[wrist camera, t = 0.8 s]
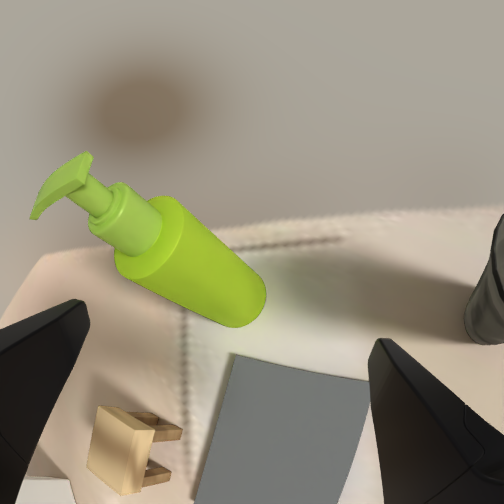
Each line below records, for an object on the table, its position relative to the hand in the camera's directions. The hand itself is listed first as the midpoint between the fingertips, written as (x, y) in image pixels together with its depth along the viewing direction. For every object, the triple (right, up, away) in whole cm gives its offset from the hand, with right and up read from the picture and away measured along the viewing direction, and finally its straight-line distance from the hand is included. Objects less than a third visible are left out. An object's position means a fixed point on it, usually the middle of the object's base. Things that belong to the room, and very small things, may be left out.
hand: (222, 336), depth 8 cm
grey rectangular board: (+3, -15, +12) cm, 19 cm away
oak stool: (-9, -17, +17) cm, 26 cm away
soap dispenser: (-1, -2, +21) cm, 21 cm away
